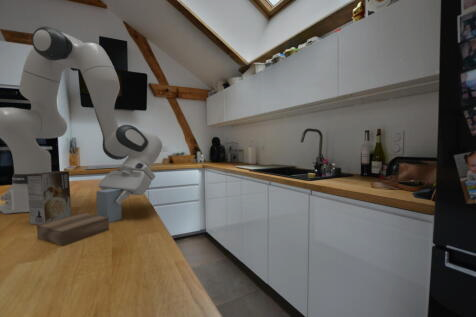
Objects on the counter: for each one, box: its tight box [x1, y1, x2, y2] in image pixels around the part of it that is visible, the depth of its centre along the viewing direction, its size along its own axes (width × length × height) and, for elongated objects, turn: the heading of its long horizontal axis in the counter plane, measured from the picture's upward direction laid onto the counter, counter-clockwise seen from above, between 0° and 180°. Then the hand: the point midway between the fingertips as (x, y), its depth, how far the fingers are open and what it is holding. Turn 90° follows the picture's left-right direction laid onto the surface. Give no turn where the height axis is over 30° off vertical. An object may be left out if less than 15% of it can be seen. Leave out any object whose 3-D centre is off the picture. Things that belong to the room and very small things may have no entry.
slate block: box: [95, 189, 122, 224], centre depth 75 cm, size 5×5×10 cm
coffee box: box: [27, 170, 72, 225], centre depth 76 cm, size 9×6×16 cm
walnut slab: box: [36, 212, 110, 247], centre depth 64 cm, size 12×12×4 cm
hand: (110, 202), depth 76 cm, fingers closed on slate block, 5 cm apart
